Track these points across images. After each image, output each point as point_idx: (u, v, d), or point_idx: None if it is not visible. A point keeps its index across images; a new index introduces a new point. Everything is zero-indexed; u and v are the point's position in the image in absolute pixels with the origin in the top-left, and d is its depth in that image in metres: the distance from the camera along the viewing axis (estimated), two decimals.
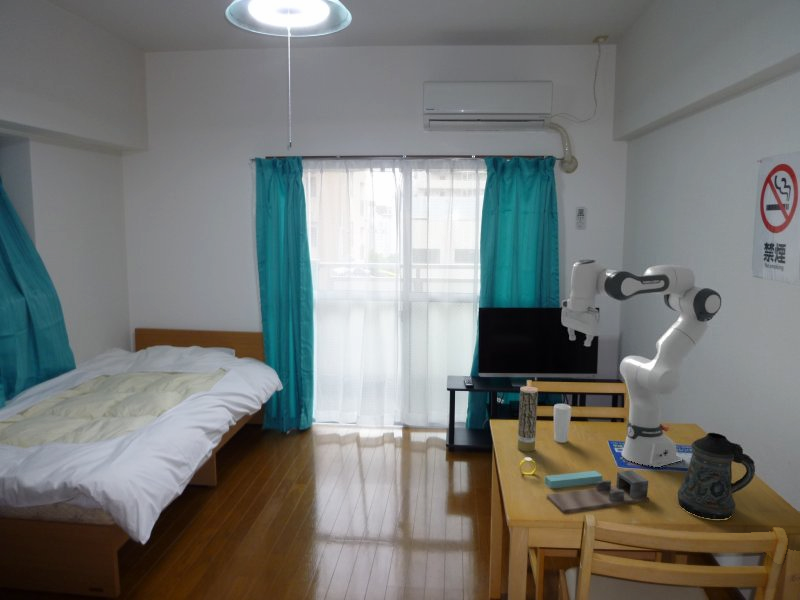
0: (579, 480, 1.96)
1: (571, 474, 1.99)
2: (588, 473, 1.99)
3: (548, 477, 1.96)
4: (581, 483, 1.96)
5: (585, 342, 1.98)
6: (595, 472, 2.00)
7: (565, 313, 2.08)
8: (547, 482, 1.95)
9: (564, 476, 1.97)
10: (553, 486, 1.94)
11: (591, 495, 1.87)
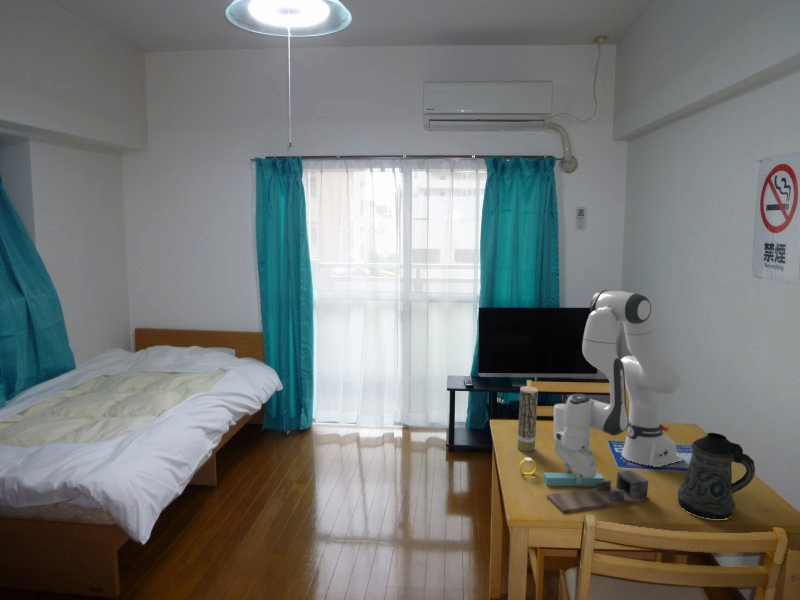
0: None
1: (572, 473, 1.99)
2: None
3: (546, 474, 1.98)
4: (580, 483, 1.96)
5: (576, 479, 1.94)
6: (598, 474, 1.98)
7: (559, 444, 2.03)
8: (544, 478, 1.98)
9: (563, 474, 1.97)
10: (549, 483, 1.95)
11: (591, 495, 1.87)
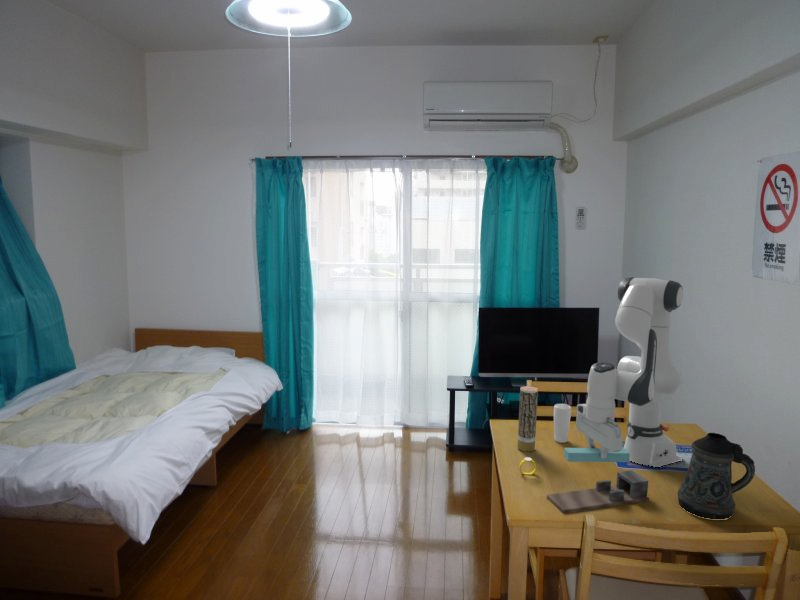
0: None
1: (595, 448, 1.85)
2: None
3: (567, 449, 1.84)
4: (604, 459, 1.82)
5: (600, 453, 1.80)
6: (623, 449, 1.85)
7: (580, 418, 1.89)
8: (566, 453, 1.84)
9: (586, 450, 1.84)
10: (571, 458, 1.82)
11: (591, 495, 1.87)
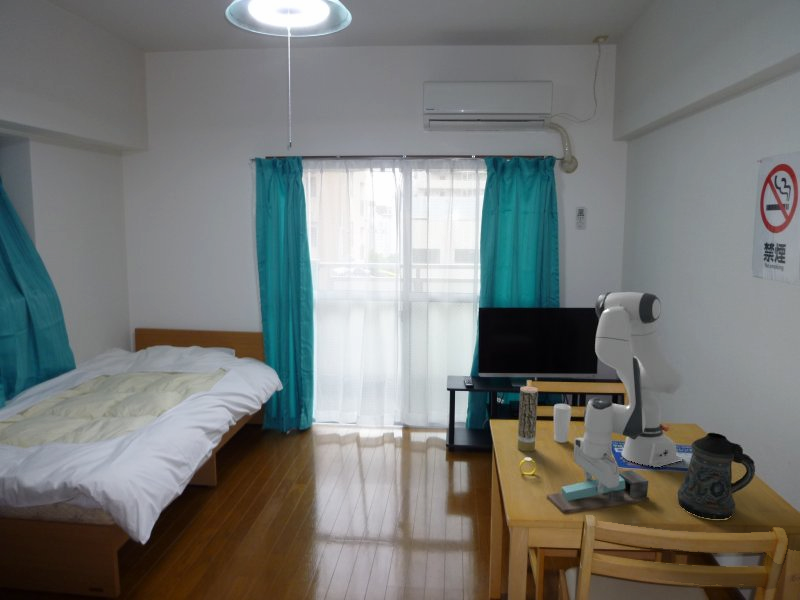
0: None
1: (591, 481, 1.87)
2: None
3: (564, 488, 1.85)
4: None
5: (597, 488, 1.82)
6: None
7: (578, 451, 1.91)
8: (564, 493, 1.85)
9: (582, 485, 1.85)
10: (570, 497, 1.83)
11: None
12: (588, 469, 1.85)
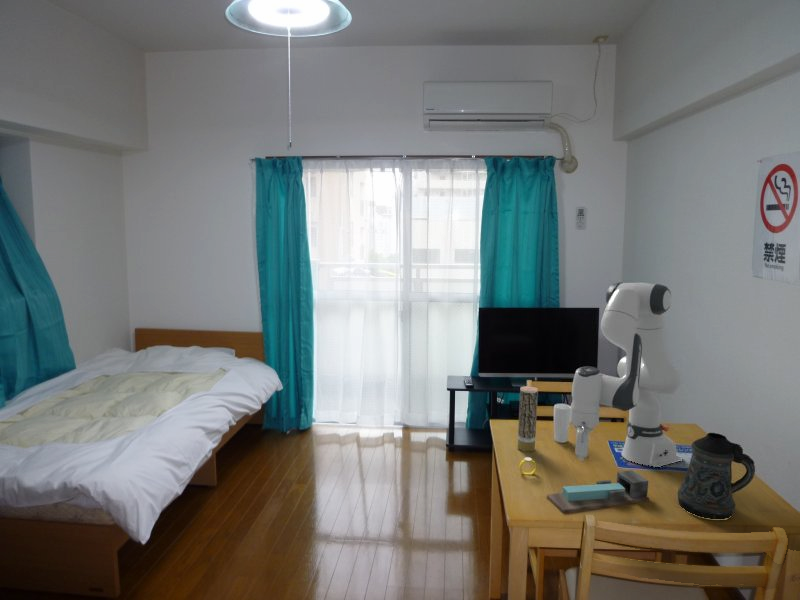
0: (600, 492, 1.84)
1: (592, 485, 1.87)
2: (610, 485, 1.88)
3: (566, 488, 1.85)
4: (602, 496, 1.85)
5: None
6: (618, 484, 1.88)
7: None
8: (564, 493, 1.85)
9: (583, 487, 1.86)
10: (571, 498, 1.83)
11: None
12: None
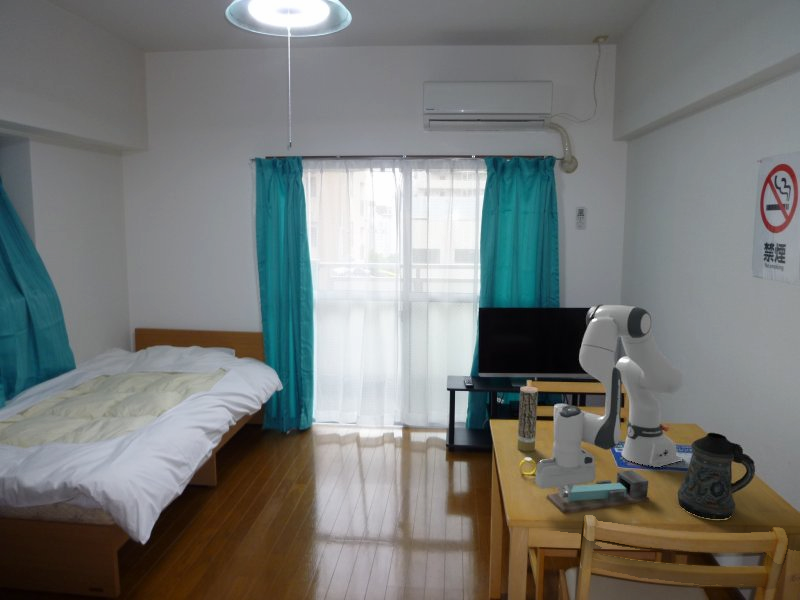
0: (601, 492, 1.84)
1: (593, 485, 1.88)
2: (611, 485, 1.88)
3: None
4: (603, 495, 1.85)
5: None
6: (619, 484, 1.88)
7: None
8: None
9: (585, 487, 1.86)
10: (572, 497, 1.83)
11: None
12: None
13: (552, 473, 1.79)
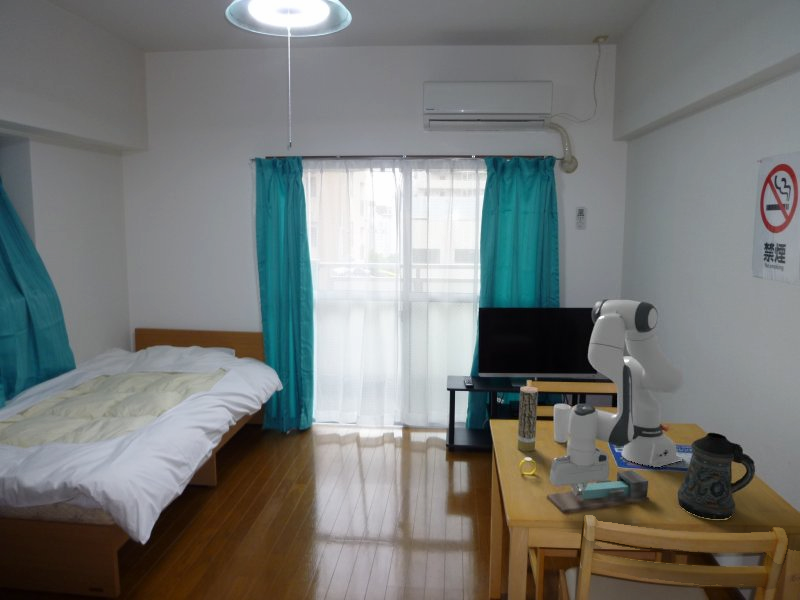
0: (614, 489, 1.86)
1: (605, 483, 1.89)
2: (623, 482, 1.90)
3: None
4: None
5: None
6: None
7: None
8: None
9: (597, 485, 1.87)
10: (586, 495, 1.84)
11: None
12: None
13: (566, 471, 1.80)
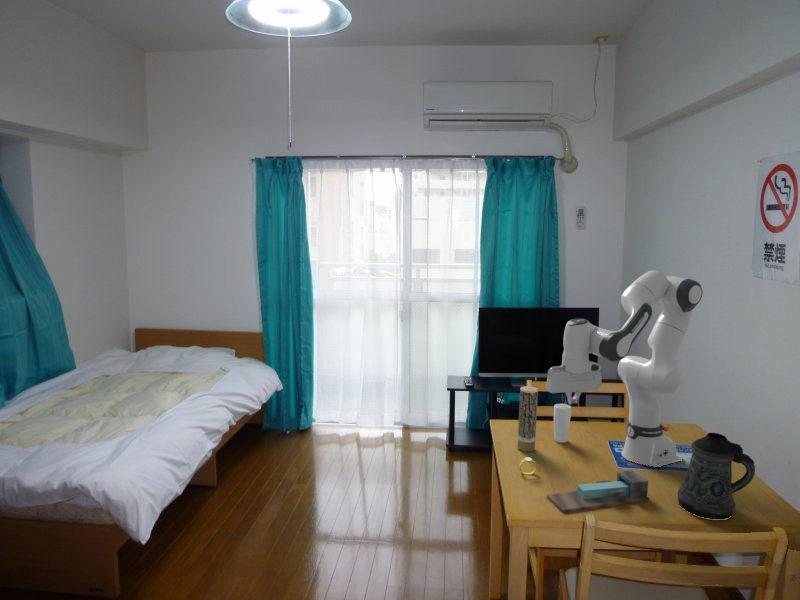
0: (614, 489, 1.86)
1: (605, 483, 1.89)
2: (623, 482, 1.90)
3: (580, 486, 1.87)
4: None
5: None
6: None
7: None
8: (579, 491, 1.86)
9: (597, 485, 1.87)
10: (586, 496, 1.84)
11: None
12: None
13: (561, 379, 1.95)
